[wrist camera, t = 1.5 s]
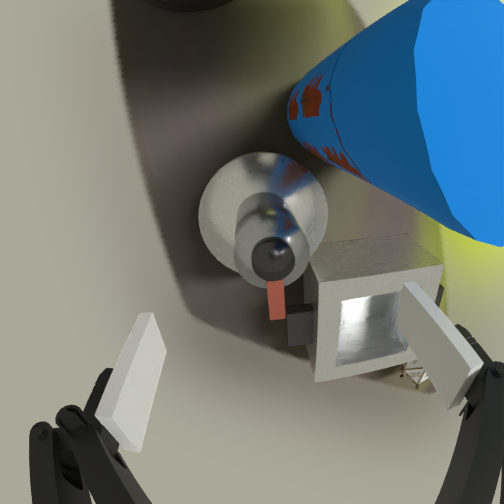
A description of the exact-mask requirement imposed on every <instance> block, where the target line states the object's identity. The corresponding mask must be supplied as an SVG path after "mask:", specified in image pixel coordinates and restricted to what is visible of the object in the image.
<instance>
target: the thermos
mask: <svg viewBox="0 0 504 504" xmlns="http://www.w3.org/2000/svg"><path fill="white" fill-rule="evenodd" d="M287 121H288V124H289V126H290V129H291V131H292V134H293V136H294V137H295V138H296V140H297V141H298V142H299V143H300V144H301V145H302V147H303V148H304V149H306V150H307V151H309V152H310V153H312V154H313V155H315V156H317V157H318V158H320V159H322V160H323V161H325V162H327V163H329V164H331V165H333V166H336V167H338V168H340V169H342V170H344V171H346V172H348V173H350V174H352V175H354V176H356V177H358V178H360V179H362V180H364V181H366V182H368V183H370V184H372V185H374V186H376V187H378V188H380V189H382V190H384V191H386V192H387V193H389V194H391V195H393V196H395V197H397V198H398V199H400V200H402V201H404V202H405V203H407V204H409V205H411V206H412V207H414V208H416V209H418V210H419V211H421V212H423V213H424V214H426V215H428V216H429V217H431V218H433V219H434V220H436V221H437V222H439V223H441V224H442V225H444V226H445V227H447V228H449V229H451V230H453V231H456V232H458V233H460V234H463V235H465V236H467V237H470V238H472V239H474V240H477V241H481V242H484V243H488V244H491V245H495V246H499V247H502V246H504V4H503V3H502V2H500V1H499V0H409V1H407V2H405V3H404V4H402V5H401V6H399V7H398V8H396V9H394V10H393V11H391V12H390V13H388V14H386V15H385V16H383V17H382V18H380V19H379V20H377V21H376V22H374V23H373V24H371V25H370V26H369V27H367V28H366V29H364V30H363V31H361V32H360V33H359V34H357V35H356V36H354V37H353V38H352V39H350V40H349V41H348V42H346V43H345V44H344V45H342V46H341V47H340V48H338V49H337V50H336V51H334V52H333V53H332V54H330V55H329V56H328V57H327V58H325V59H324V60H323V61H321V62H320V63H319V64H318V65H316V66H315V67H314V68H313V69H312V70H310V71H309V72H308V73H307V74H306V75H305V76H304V77H303V78H302V80H301V81H300V82H299V83H298V84H297V85H296V86H295V88H294V89H293V90H292V93H291V95H290V98H289V101H288V104H287Z"/></svg>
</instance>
